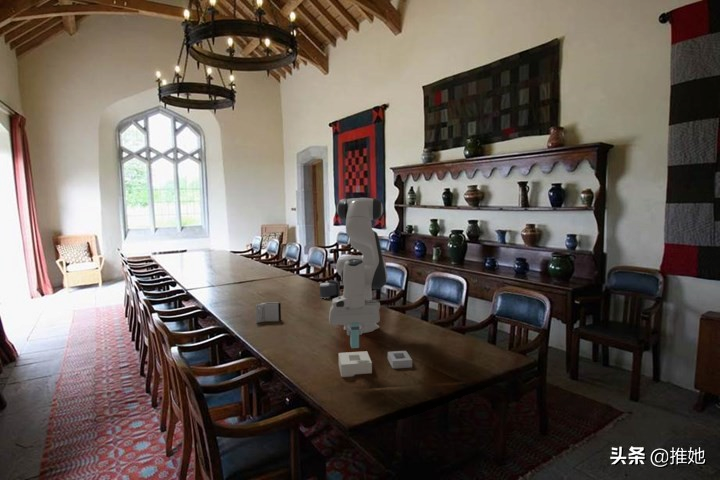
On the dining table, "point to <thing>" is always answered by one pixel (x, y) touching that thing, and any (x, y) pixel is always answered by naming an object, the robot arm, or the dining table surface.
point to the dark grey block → (329, 289)
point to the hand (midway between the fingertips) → (354, 334)
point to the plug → (354, 335)
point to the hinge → (268, 312)
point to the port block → (354, 363)
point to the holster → (399, 359)
